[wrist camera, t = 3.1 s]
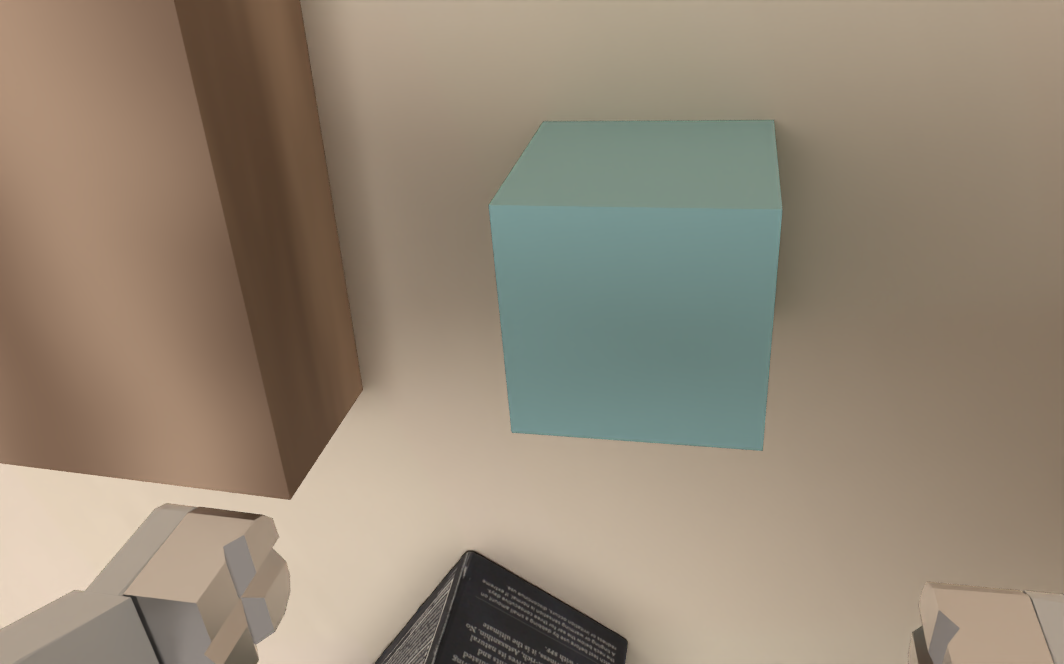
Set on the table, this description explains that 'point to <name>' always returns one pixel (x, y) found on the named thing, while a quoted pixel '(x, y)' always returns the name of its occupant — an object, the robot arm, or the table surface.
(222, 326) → the walnut base block
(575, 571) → the table surface
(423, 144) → the table surface
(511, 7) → the table surface
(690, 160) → the teal cube
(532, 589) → the small box
